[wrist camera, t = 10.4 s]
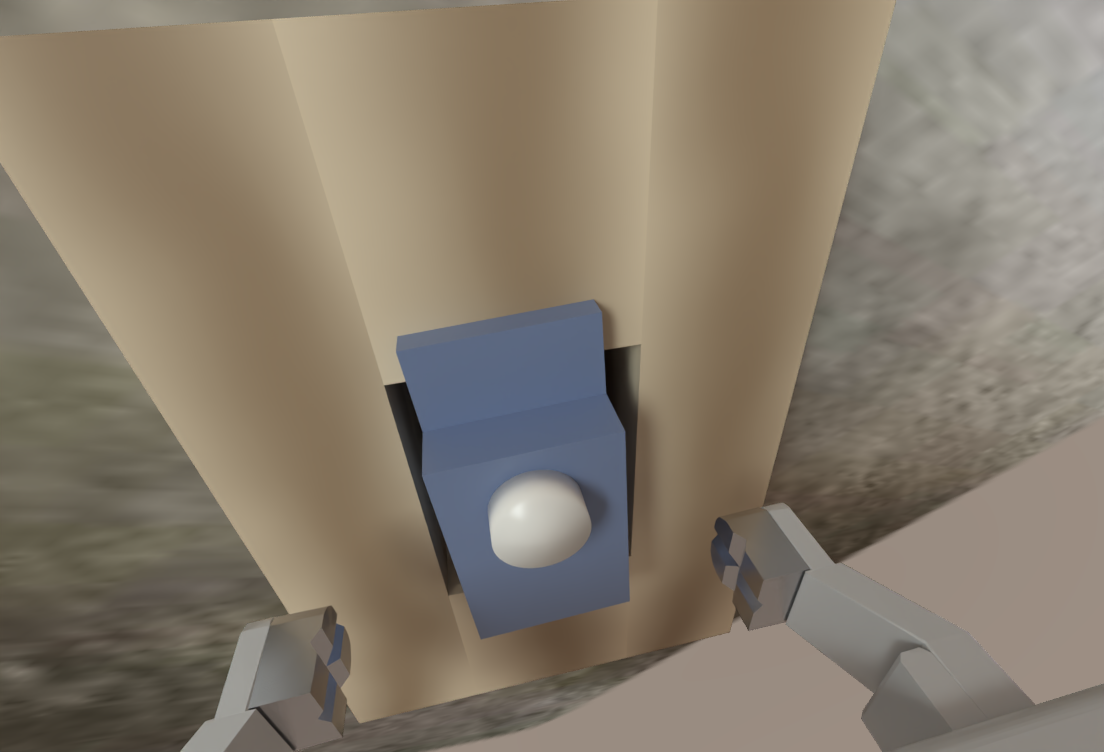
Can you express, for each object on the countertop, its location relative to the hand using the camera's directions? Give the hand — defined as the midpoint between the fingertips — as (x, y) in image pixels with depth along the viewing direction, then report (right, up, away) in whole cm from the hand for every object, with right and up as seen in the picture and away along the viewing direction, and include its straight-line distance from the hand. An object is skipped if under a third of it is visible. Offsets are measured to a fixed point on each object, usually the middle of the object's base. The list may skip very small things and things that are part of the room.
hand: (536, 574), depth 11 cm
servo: (-1, +3, +5) cm, 6 cm away
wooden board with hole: (-1, +3, +5) cm, 6 cm away
